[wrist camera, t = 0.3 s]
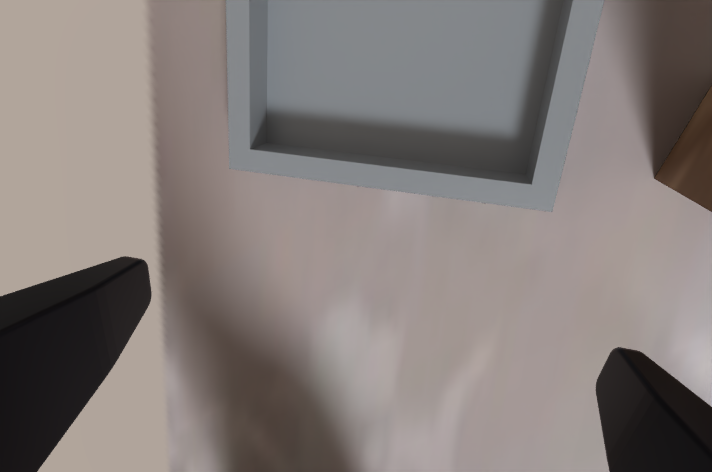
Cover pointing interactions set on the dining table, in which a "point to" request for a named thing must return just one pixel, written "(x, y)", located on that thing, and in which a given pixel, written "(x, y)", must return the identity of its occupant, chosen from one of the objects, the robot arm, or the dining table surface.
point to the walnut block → (692, 158)
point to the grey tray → (410, 93)
